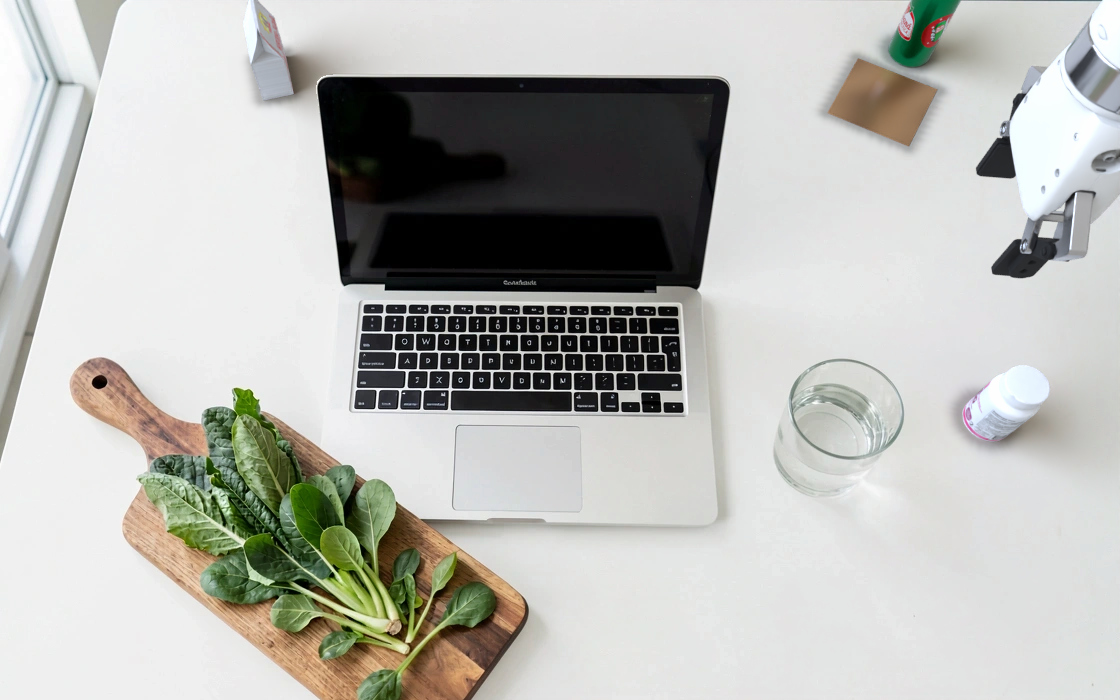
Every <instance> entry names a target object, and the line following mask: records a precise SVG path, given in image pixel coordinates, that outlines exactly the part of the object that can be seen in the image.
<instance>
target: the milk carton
mask: <svg viewBox="0 0 1120 700" xmlns="http://www.w3.org/2000/svg"><path fill="white" fill-rule="evenodd" d="M242 26H243V31H244V36H245V42H246V47H247V52H248V57H249V63H250V67H251V70H252V73H253V75H254V78H255V81H256V85H257V87H258V89H259V92H260V96H261V98H262V101H268V100H272V99H278V98H282V97H283V98H284V97H288V96H292V95H294V94H295V92H294V87H293V84H292V83H293V82H292V78H291V73H290V70H289V65H288V59H287V54H286V51H285V48H284V44H283V41H282V38H281V34H280V31H279V28H278V25H277V21H276V18H275V16H274V15H273V14H272V13H271V12H270V11H269V10H268V9H267V8H266V7H265V6H264V5H263V4H262V3H261V2H260V1H259V0H247V6H246V10H245V13H244V18H243V21H242Z"/></svg>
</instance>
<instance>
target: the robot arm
mask: <svg viewBox="0 0 1120 700" xmlns="http://www.w3.org/2000/svg"><path fill="white" fill-rule="evenodd" d="M1020 90H1021V92H1019V93H1017V94H1016V95H1015V97H1014V98H1013V99H1012V107H1011V112H1010V114H1009V115H1010V116H1009V120H1004V121H1003V122H1002V123H1001V124H1000V127H999V136H1000V137H996V138H995V140H994V141H993V143H992V144H991V145H990V147H989V148H988V150H987V151H986V153H985V154H984V156H983V157H982V158H981V160H980V161H979V163H978V164H977V165H976V167H975V173H976V175H977V176H979V177H983V178H984V177H985V178H997V179H1008V180H1009V179H1015V178H1016V182H1017V188H1018V192H1019V197H1020V202H1021V206H1022V210H1023V212H1024V213H1025V214H1026V216H1027V219H1026V224H1025V226H1024V230H1023V233H1022V235H1021V236H1022V237H1021V238H1015V239H1014V240H1012V241H1011V243H1010V244H1009V245H1008V246H1007V247H1006V248H1005V250H1004V251H1003V252H1002V253H1001V254H1000V255H999V257H998V258H996V260H995V261H994V263H992V265H991V268H990V270H991V274H992V275H993V276H994V275H995V276H1004V277H1010V278H1014V279H1027V278H1032V277H1034V276H1035V275H1036V274H1037V273H1038V272H1039V271H1040V270H1041V269H1042V268H1043V267H1044V266H1045V265H1046V264H1047V262H1049V261H1055V262H1066V263H1067V262H1070V261H1074V260H1080V259H1083V258H1085V257H1086V256H1087V254H1088V251H1089V240H1090V233H1091V232H1090V230H1091V225H1092V224H1093V223H1095V222H1096V221H1097V220H1098V219H1099V218H1100V217H1101V216H1102V215H1103V214H1104V213H1105V212H1106V211H1107V210H1108V208H1109V207H1110V206H1111V205H1112V204H1113V203H1114V202H1115V200H1117V198H1118V197H1119V196H1120V0H1101V1H1100V3H1099V5H1098V6H1097V7H1096V8H1095V10H1094V11H1093V13H1092V14H1091V15H1090V17H1089V18H1088V19H1087V20H1086V22H1085V23H1084V25H1083V26H1082V27H1081V28H1080V30H1079V32H1078V33H1077V34H1076V36H1075V38H1074V39H1073V40H1072V41H1071V42H1070V43H1069V44H1068V45H1067V46H1066V47H1065V48H1064V49H1063V50H1061V52H1060V53H1059V55H1057V56H1056V57H1055V59H1054V60H1053V61H1052V62H1051V63H1050V64H1049V65H1048V66H1043V65H1042V66H1041V65H1030V66H1029V68H1028V70H1027V72H1026V75H1025V78H1024V80H1023V83H1022V86H1021V88H1020ZM1063 206H1064V209H1063V210H1059V209H1060V208H1062V207H1063ZM1043 222H1051V223H1057V225H1056V227H1055V231H1054V234H1053V237H1045V236H1044V237H1043V236H1039V235H1040V232H1041V228H1042V226H1043Z"/></svg>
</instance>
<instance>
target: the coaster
mask: <svg viewBox="0 0 1120 700" xmlns="http://www.w3.org/2000/svg"><path fill="white" fill-rule="evenodd" d="M937 91H938V89H937V88H936V87H932V86H930V85H928V84H925V83H922V82H920V81H918V80H915V79H913V78H910V77H907V76H904V75H903V74H900V73H897V72H895V71H892V70H890V69H887V68H884V67H882V66H880V65H877V64H875V63H871V62H869V61H866V60H864V59H862V58H857V59H856V61H855V62H854V64H853V66H852V67H851V70H850V72H849V73H848V75H847V77H846V79H845V80H844V83H843V84H842V86H841V87H840V89H839V91H838V93H837V95H836V96H835V98H834V100H833V102H832V103H831V106H830V107H829V109H828V111H827V113H826V114H827V115H830V116H833V117H836V118H838V119H841V120H843V121H845V122H848V123H850V124H853V125H854V126H855V125H856V126H858V127H860V128H862V129H865V130H867V131H870V132H872V133H876V134H877V135H880V136H882V137H885V138H886V139H889V140H892V141H894V142H896V143H899V144H901V145H904V146H906V147H910V145H911V143H912V141H913V139H914V137H915V135H916V133H917V131H918V129H919V127H920V125H921V123H922V121H923V119H924V117H925V116H926V113H927V111H928V109H929V107H930V105H931V103H932V101H933V100H934V97H935V95H936V93H937Z"/></svg>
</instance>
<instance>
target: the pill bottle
mask: <svg viewBox="0 0 1120 700" xmlns="http://www.w3.org/2000/svg"><path fill="white" fill-rule="evenodd" d="M1050 393H1051V385H1050V381H1049V380H1048V378H1047V376H1046V375H1045V374H1044V373H1043V372H1042V371H1040V370H1039V369H1038V368H1036V367H1033V366H1032V365H1027V364H1019V365H1015V366H1013V367H1010V368H1009V369H1008V370H1007V371H1006V372H1002V373H1000V374H998V375H995V377H994V378H992V379H991V380H990V381H989V382H988V383H987V384H985V385H984V387H982V388H981V389H980V390H979V391H978V392H977V393H976V394H975V395H974V396H972V398H971V399H969V400H968V402H966V404H965V405H964V407H963V409H962V413H961V414H962V421H963V423H964V426H965V427H966V429H967V430H968V431H969V432H970V433H971V434H972V435H973V436H974V437H976V438H977V439H980V440H982V441H986V442H998V441H1002V440H1004V439H1006V438H1007V437H1008V436H1009V435H1011V434H1012V433H1013V432H1015V431H1016V430H1017V429H1019V428H1020V427H1021V426H1022V425H1023V424H1025V423H1027V421H1028V420H1030V419H1031V418H1032V417H1034V416H1035V415H1036V414H1037V413H1038V412H1039V410H1040V408H1041V406H1042V404H1043V403H1044V402H1045V401H1046V400H1047V399H1048V398H1049V396H1050Z"/></svg>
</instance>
